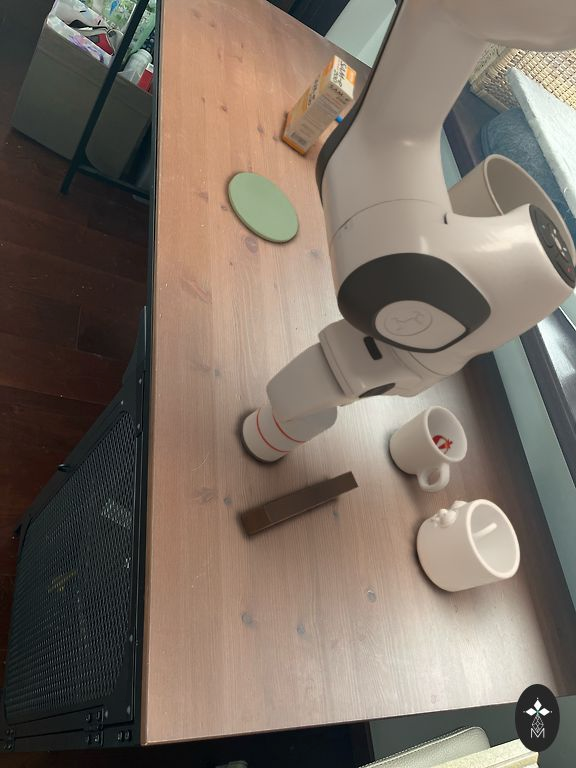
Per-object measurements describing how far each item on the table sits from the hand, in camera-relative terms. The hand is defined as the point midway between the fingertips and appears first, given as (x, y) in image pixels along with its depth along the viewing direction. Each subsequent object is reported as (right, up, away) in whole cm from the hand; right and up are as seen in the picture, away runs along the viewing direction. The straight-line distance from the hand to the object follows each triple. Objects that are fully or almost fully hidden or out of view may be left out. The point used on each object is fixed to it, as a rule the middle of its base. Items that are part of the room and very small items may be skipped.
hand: (311, 407), depth 65 cm
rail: (-2, -11, +4) cm, 12 cm away
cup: (+13, -9, +20) cm, 25 cm away
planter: (+15, +14, +35) cm, 40 cm away
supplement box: (-1, +45, +40) cm, 60 cm away
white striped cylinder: (-3, -7, +5) cm, 9 cm away
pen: (+12, +48, +53) cm, 73 cm away
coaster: (-6, +28, +26) cm, 39 cm away
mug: (+18, -19, +16) cm, 31 cm away
